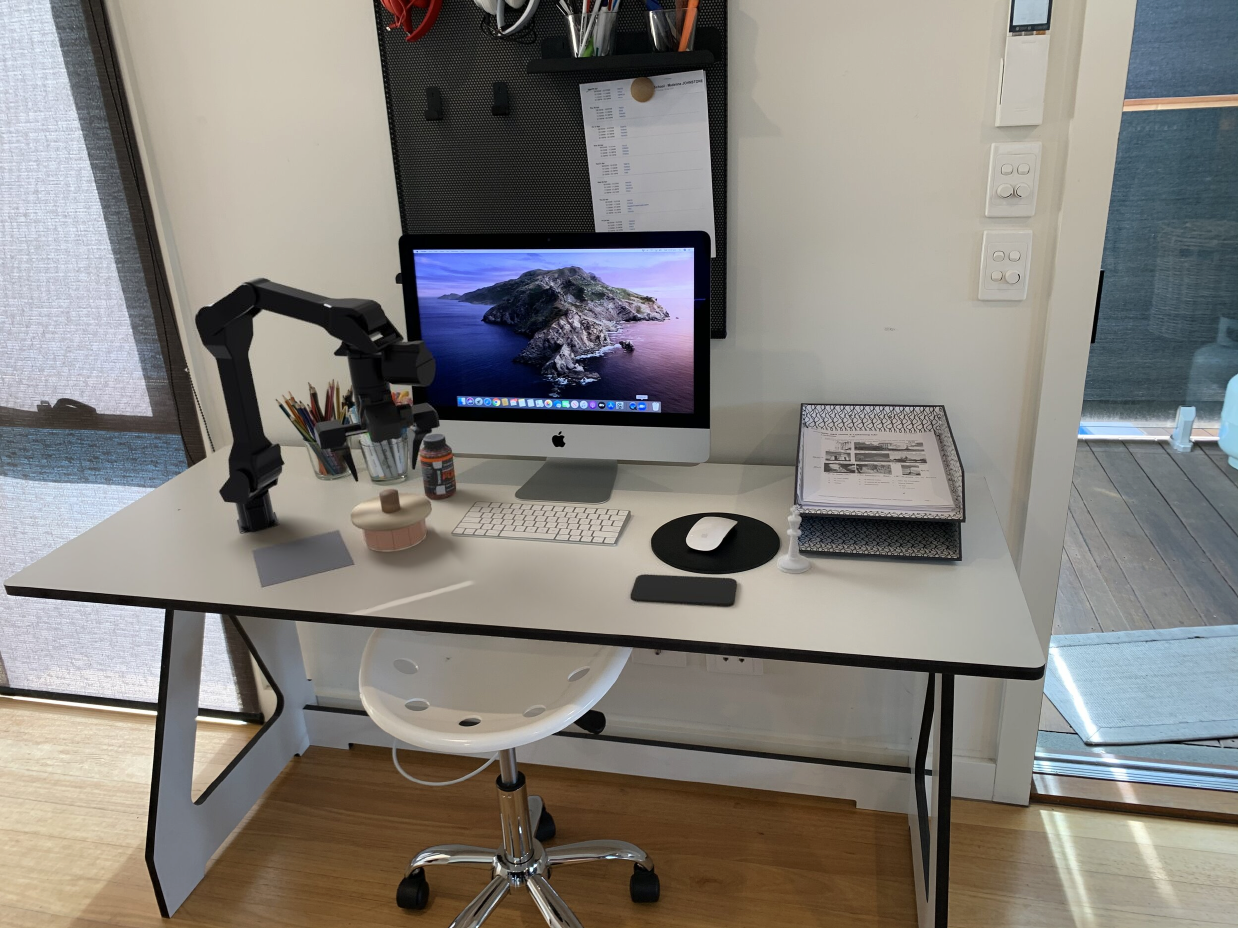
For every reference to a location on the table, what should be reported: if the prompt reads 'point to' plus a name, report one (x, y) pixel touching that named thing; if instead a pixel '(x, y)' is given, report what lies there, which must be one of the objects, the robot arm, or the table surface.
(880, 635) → the table surface
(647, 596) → the phone
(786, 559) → the chess piece
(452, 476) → the supplement bottle
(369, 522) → the lid
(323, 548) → the mat
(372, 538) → the bowl
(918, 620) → the table surface
